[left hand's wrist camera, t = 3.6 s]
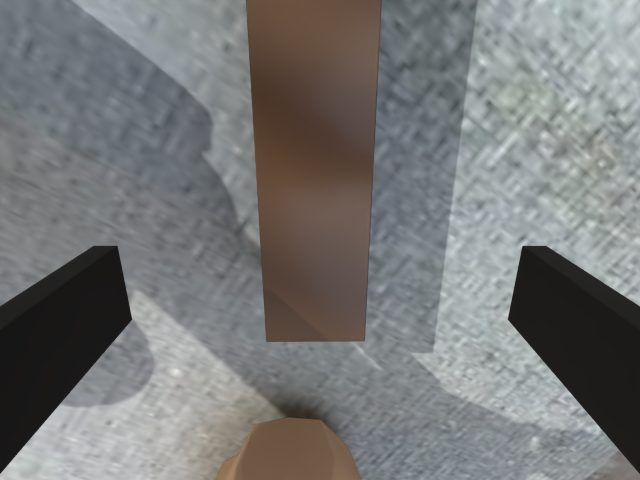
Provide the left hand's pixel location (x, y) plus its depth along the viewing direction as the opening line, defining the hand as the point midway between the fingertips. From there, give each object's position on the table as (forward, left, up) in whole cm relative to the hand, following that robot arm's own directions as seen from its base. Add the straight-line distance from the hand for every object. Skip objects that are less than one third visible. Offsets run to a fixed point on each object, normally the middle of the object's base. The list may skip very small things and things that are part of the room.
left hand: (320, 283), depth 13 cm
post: (+3, +34, -12) cm, 36 cm away
